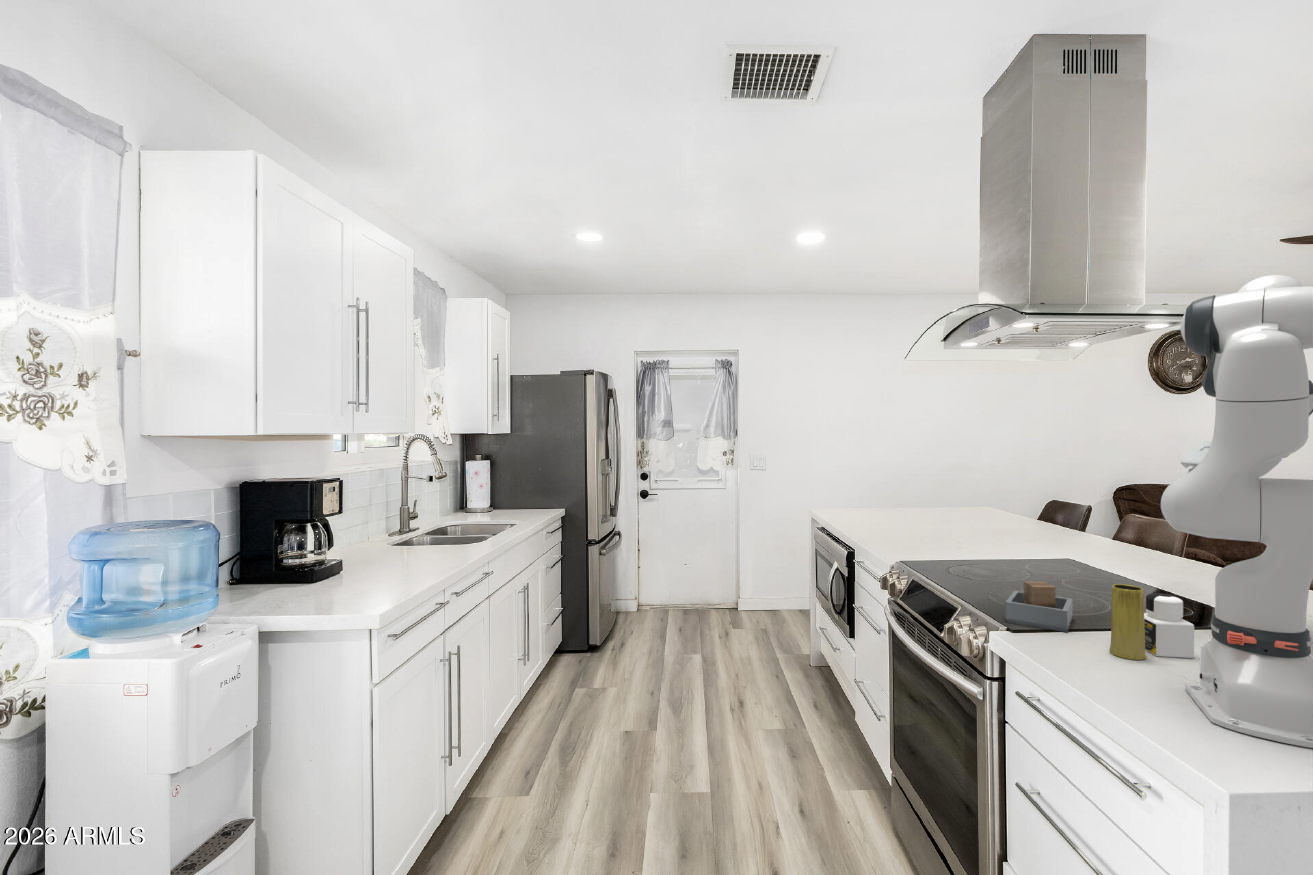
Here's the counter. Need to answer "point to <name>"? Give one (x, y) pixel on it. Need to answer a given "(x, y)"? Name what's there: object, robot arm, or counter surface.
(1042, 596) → the block
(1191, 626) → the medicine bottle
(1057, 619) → the bin
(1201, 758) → the counter surface
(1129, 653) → the vase
